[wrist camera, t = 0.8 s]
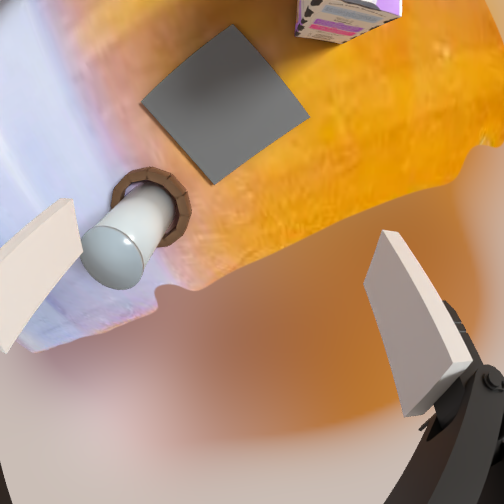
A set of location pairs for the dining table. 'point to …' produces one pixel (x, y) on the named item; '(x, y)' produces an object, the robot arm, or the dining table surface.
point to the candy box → (343, 18)
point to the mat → (224, 104)
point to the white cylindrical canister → (128, 236)
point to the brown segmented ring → (170, 185)
